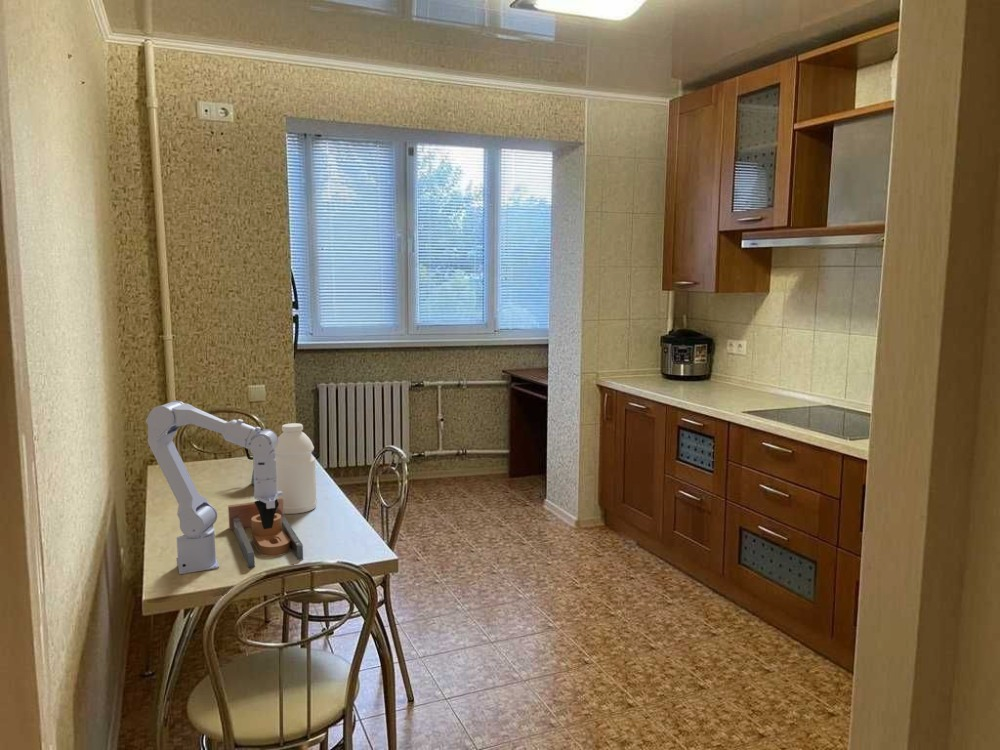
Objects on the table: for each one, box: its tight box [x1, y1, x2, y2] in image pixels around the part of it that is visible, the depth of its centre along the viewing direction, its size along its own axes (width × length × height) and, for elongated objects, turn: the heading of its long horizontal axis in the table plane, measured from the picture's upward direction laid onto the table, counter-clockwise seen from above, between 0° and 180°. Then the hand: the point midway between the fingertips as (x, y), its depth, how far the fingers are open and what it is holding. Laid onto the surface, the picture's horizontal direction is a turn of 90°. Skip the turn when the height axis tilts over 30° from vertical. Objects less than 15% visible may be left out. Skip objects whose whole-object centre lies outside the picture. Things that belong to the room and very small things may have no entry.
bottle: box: [272, 422, 318, 515], centre depth 241 cm, size 14×14×28 cm
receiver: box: [227, 499, 304, 569], centre depth 211 cm, size 16×36×7 cm, turn 26°
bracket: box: [251, 513, 291, 557], centre depth 209 cm, size 18×8×7 cm, turn 29°
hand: (267, 527), depth 192 cm, fingers closed
